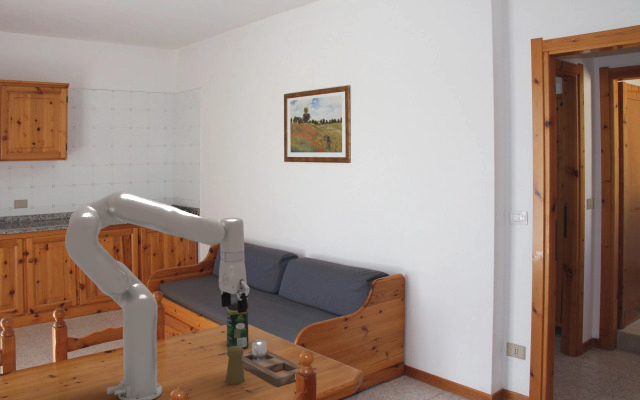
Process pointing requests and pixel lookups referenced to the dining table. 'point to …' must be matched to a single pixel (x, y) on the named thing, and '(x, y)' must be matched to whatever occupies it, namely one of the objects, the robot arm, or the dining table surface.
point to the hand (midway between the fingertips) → (234, 309)
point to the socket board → (271, 368)
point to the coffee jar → (237, 325)
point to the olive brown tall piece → (235, 365)
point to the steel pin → (259, 350)
